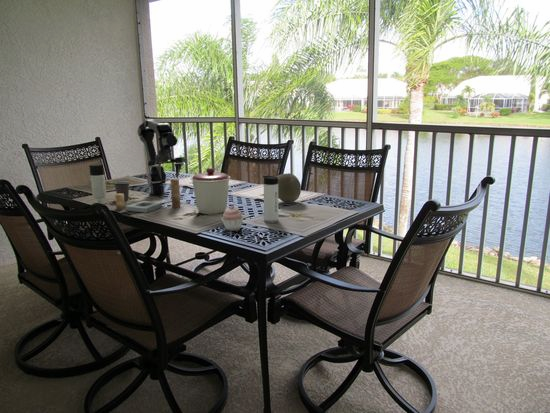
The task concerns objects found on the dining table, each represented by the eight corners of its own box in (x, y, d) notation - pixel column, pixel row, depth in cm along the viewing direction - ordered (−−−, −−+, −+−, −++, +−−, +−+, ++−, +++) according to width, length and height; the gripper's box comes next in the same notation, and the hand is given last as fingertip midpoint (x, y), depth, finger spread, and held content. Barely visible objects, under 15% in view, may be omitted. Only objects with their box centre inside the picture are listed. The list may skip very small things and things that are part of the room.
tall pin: (170, 207, 212) (168, 179, 209) (175, 205, 216) (173, 178, 212) (177, 208, 211) (175, 180, 207) (182, 206, 214) (180, 178, 211)
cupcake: (217, 230, 175) (216, 206, 173) (227, 224, 184) (227, 201, 181) (238, 233, 172) (237, 208, 170) (247, 226, 181) (247, 203, 178)
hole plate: (126, 210, 208) (125, 206, 208) (142, 204, 219) (142, 200, 218) (146, 212, 203) (145, 208, 203) (162, 206, 214) (161, 202, 214)
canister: (197, 207, 213) (194, 164, 208) (233, 207, 213) (232, 164, 208) (188, 217, 196) (186, 170, 191) (228, 217, 195) (227, 170, 190)
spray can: (110, 202, 224) (106, 163, 219) (101, 205, 218) (96, 165, 213) (99, 201, 226) (95, 163, 221) (90, 204, 220) (85, 165, 215)
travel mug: (262, 219, 191) (262, 174, 186) (277, 218, 192) (277, 174, 187) (263, 223, 185) (263, 177, 180) (279, 222, 186) (278, 176, 181)
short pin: (114, 208, 211) (113, 194, 209) (120, 207, 214) (119, 193, 213) (121, 209, 209) (119, 195, 208) (126, 207, 213) (125, 193, 211)
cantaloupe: (286, 198, 231) (286, 170, 227) (306, 202, 221) (306, 173, 217) (267, 202, 221) (267, 173, 217) (287, 207, 211) (287, 177, 208)
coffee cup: (134, 198, 232) (132, 180, 229) (123, 202, 224) (121, 183, 222) (123, 197, 235) (121, 179, 232) (111, 200, 228) (109, 181, 225)
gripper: (140, 149, 216) (145, 181, 218) (175, 145, 213) (179, 177, 214) (150, 150, 227) (154, 179, 229) (184, 146, 224) (188, 176, 225)
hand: (169, 178), depth 224 cm, fingers open, 9 cm apart
